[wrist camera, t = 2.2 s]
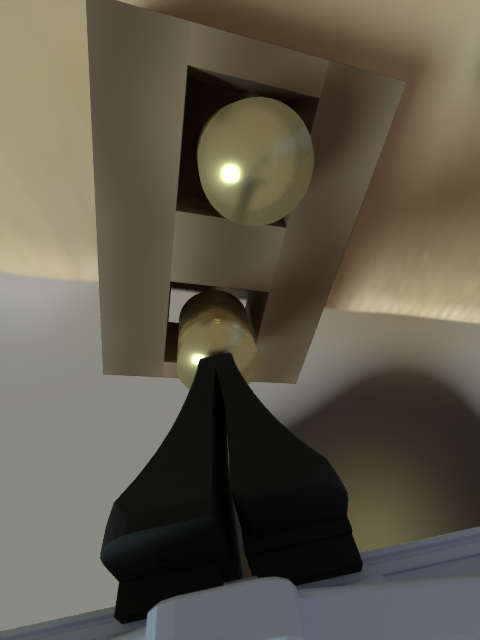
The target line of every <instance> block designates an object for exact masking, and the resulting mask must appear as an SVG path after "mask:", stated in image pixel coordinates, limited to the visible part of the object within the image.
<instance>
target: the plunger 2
mask: <svg viewBox="0 0 480 640" xmlns="http://www.w3.org/2000/svg"><path fill="white" fill-rule="evenodd" d="M225 353H231V354H232V355H233V359H234V361H235V364H236V366H237V368H238V369H239V371H240V373H241V375H242V376H243V378H244V380H245V381H246V383H247V384H249V383H250V382H251V381H252V380H253V379H254V377H255V376H256V374H257V371H258V368H259V356H258V353H257V349H256V346H255V342H254V339H253V335H252V332H251V328H250V325H249V321H248V318H247V314H246V311H245V308H244V306H243V304H242V303H241V302H240V301H239V300H238V299H237V298H236V297H235V296H233V295H231V294H229V293H227V292H224V291H217V290H211V291H205V292H201V293H199V294H197V295H195V296H193V297H192V298H190V299H189V300H188V301H187V302H186V303H185V305H184V306H183V308H182V310H181V312H180V317H179V334H178V352H177V373H178V376H179V378H180V380H181V381H182V383H183V384H184V385H185V386H186V387H187V388H189V389H190V388H191V385H192V383H193V380H194V377H195V374H196V370H197V367H198V362H199V360H200V359H201V358H205V357H210V356H215V355H220V354H225Z"/></svg>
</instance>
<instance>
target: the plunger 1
mask: <svg viewBox="0 0 480 640" xmlns="http://www.w3.org/2000/svg"><path fill="white" fill-rule="evenodd" d="M197 163H198V170H199V176H200V181H201V184H202V187H203V190H204V192H205V195H206V197H207V198H208V200H209V202H210V203H211V205H212V206H213V207H214V208H215V209H216V210H217V211H218V212H219V213H220V214H221V215H222V216H224V217H225V218H227V219H228V220H230V221H232V222H235V223H237V224H240V225H245V226H262V225H267V224H270V223H273V222H276V221H278V220H280V219H281V218H283V217H285V216H286V215H287V214H289V213H290V212H291V211H292V210H293V209H294V208H295V207H296V206H297V205H298V203H299V202H300V201H301V199H302V198H303V196H304V195H305V193H306V191H307V189H308V186H309V184H310V181H311V177H312V173H313V166H314V152H313V145H312V141H311V137H310V134H309V132H308V129H307V128H306V126H305V124H304V122H303V121H302V119H301V118H300V117H299V115H298V114H297V113H296V112H295V111H294V110H293V109H291V108H290V107H288V106H287V105H286V104H284V103H282V102H280V101H278V100H275V99H272V98H266V97H251V98H246V99H243V100H240V101H237V102H234V103H231V104H229V105H226V106H224V107H222V108H220V109H218V110H217V111H216V112H214V113H213V114H212V115H211V116H210V117H209V119H208V120H207V121H206V123H205V124H204V126H203V128H202V130H201V132H200V135H199V138H198V143H197Z"/></svg>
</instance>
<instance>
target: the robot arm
mask: <svg viewBox="0 0 480 640" xmlns="http://www.w3.org/2000/svg"><path fill="white" fill-rule="evenodd" d="M227 437H228V444H227ZM228 451H229V466H228ZM229 468H230V476H229ZM232 497H233V499H232ZM233 501H234V504H235V508H236V511H237V515H238V518H239V522H240V525H241V529H242V537H243V545H244V552H245V556H246V557H247V560H248V564H249V566H250V570H251V573H252V577H247V578H243V572H242V564H241V557H240V551H239V543H238V536H237V530H236V522H235V514H234V507H233ZM347 509H348V493H347V491H346V489H345V486H344V485H343V483H342V481H341V480H340V478H339V476H338V474H337V473H336V471H335V470H334V468H333V467H332V466H331V464H330V463H329V462H328V460H327V459H326V458H325V457H323V456H322V455H321V454H319V453H317V452H316V451H315V450H313V449H312V448H311V447H309V446H308V445H306V444H305V443H304V442H303V441H301V440H300V439H299V438H298V437H296V436H295V435H294V434H293V433H292V432H291V431H289V430H288V429H287V428H286V427H285V426H284V425H283V424H281V423H280V422H279V421H278V420H277V419H276V418H275V417H274V416H273V415H272V414H271V413H270V412H269V410H268V409H266V407H265V406H264V405H263V404H262V403H261V401H260V400H259V399H258V398H257V396H256V395H255V394H254V392H253V391H252V390H251V388H250V387H249V386H248V384H247V383H246V381H245V380H244V378H243V376H242V375H241V373H240V371H239V369H238V368H237V366H236V364H235V361H234V359H233V355H232V354H231V353H225V354H220V355H215V356H210V357H205V358H201V359H200V360H199V362H198V367H197V370H196V374H195V377H194V380H193V383H192V385H191V388H190V391H189V393H188V396H187V398H186V400H185V403H184V405H183V407H182V409H181V411H180V413H179V415H178V417H177V419H176V421H175V423H174V425H173V426H172V428H171V430H170V432H169V433H168V435H167V436H166V438H165V439H164V441H163V442H162V444H161V446H160V447H159V449H158V450H157V452H156V453H155V454H154V456H153V457H152V458H151V460H150V461H149V462H148V464H147V465H146V466H145V468H144V469H143V470H142V472H141V473H140V474H139V475H138V476H137V477H136V479H135V480H134V481H133V482H132V483H131V484H130V486H129V487H128V488H127V489H126V490H125V491H124V492H123V493H122V494H121V496H120V497H119V498H118V499H117V500H116V501H115V502H114V504H113V507H112V510H111V513H110V516H109V519H108V522H107V525H106V530H105V534H104V539H103V544H102V549H101V557H100V559H101V561H102V563H103V565H104V566H105V567H106V568H107V569H108V570H109V571H110V572H111V574H113V576H114V577H115V578H116V579H117V580H118V581H119V588H118V594H117V600H116V606H115V607H110V608H106V609H102V610H96V611H92V612H87V613H83V614H78V615H74V616H69V617H64V618H60V619H55V620H51V621H46V622H42V623H37V624H33V625H28V626H23V627H19V628H14V629H9V630H5V631H0V640H480V527H476V528H472V529H467V530H463V531H458V532H453V533H449V534H444V535H440V536H435V537H430V538H426V539H421V540H417V541H412V542H407V543H403V544H399V545H394V546H389V547H385V548H380V549H375V550H371V551H366V552H362V553H359V551H358V549H357V546H356V544H355V541H354V539H353V536H352V528H351V525H350V522H349V520H348V517H347Z"/></svg>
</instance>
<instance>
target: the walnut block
mask: <svg viewBox="0 0 480 640" xmlns="http://www.w3.org/2000/svg"><path fill="white" fill-rule="evenodd" d="M86 11H87V33H88V54H89V76H90V98H91V119H92V141H93V163H94V184H95V206H96V227H97V249H98V271H99V292H100V311H101V312H100V314H101V333H102V334H101V335H102V357H103V374H105V375H106V374H107V375H126V376H147V377H167V378H179V376H178V373H177V352H178V334H179V323H173V322H168V318H169V305H170V294H171V282H181V283H190V284H199V285H208V286H217V287H226V288H235V289H244V290H249V294H248V298H247V303H246V307H245V311H246V314H247V318H248V321H249V325H250V328H251V332H252V335H253V339H254V342H255V346H256V349H257V353H258V356H259V368H258V371H257V374H256V376H255V377H254V379H253V380H252V381H251V382H270V383H290V384H296V382H297V379H298V376H299V374H300V371H301V368H302V366H303V363H304V360H305V358H306V355H307V352H308V349H309V347H310V344H311V341H312V339H313V336H314V333H315V330H316V328H317V325H318V322H319V320H320V317H321V314H322V311H323V309H324V306H325V303H326V300H327V298H328V295H329V292H330V290H331V287H332V284H333V281H334V279H335V276H336V273H337V271H338V268H339V265H340V262H341V260H342V257H343V254H344V252H345V249H346V246H347V243H348V241H349V238H350V235H351V232H352V230H353V227H354V224H355V222H356V219H357V216H358V213H359V211H360V208H361V205H362V203H363V200H364V197H365V194H366V192H367V189H368V186H369V184H370V181H371V178H372V175H373V173H374V170H375V167H376V164H377V162H378V159H379V156H380V154H381V151H382V148H383V145H384V143H385V140H386V137H387V135H388V132H389V129H390V126H391V124H392V121H393V118H394V115H395V113H396V110H397V107H398V105H399V102H400V99H401V96H402V94H403V91H404V88H405V86H406V83H407V82H405V81H402V80H398V79H394V78H391V77H387V76H384V75H380V74H377V73H373V72H369V71H366V70H362V69H359V68H355V67H352V66H348V65H344V64H341V63H337V62H334V61H330V60H327V59H323V58H320V57H316V56H312V55H309V54H305V53H302V52H298V51H295V50H291V49H287V48H284V47H280V46H277V45H273V44H270V43H266V42H262V41H259V40H255V39H252V38H248V37H245V36H241V35H237V34H234V33H230V32H227V31H223V30H220V29H216V28H212V27H209V26H205V25H202V24H198V23H195V22H191V21H187V20H184V19H180V18H177V17H173V16H170V15H166V14H162V13H159V12H155V11H152V10H148V9H145V8H141V7H138V6H134V5H130V4H127V3H123V2H120V1H116V0H86ZM188 78H191V79H196V80H200V81H204V82H208V83H212V84H216V85H220V86H224V87H228V88H233V89H237V90H241V91H245V92H249V93H253V94H257V95H261V96H265V97H270V98H274V99H278V100H282V101H286V102H290V103H291V105H290V108H291V109H293V110H294V111H295V112H296V113H297V114H298V115H299V117H300V118H301V119H302V121H303V122H304V124H305V126H306V128H307V129H308V132H309V134H310V137H311V141H312V145H313V152H314V166H313V173H312V177H311V181H310V184H309V186H308V189H307V191H306V193H305V195H304V196H303V198H302V199H301V201H300V202H299V203H298V205H297V206H296V207H295V208H294V209H293V210H292V211H291V212H290V213H289V214H287V215H286V216H285V217H283V218H281V219H280V220H278V221H276V222H273V223H270V224H267V225H262V226H245V225H240V224H237V223H235V222H232V221H230V220H228V219H227V218H225V217H224V216H222V215H221V214H220V213H219V212H218V211H217V210H216V209H215V208H214V207H213V206H212V205H211V203H210V202H209V200H208V198H207V197H206V196H200V195H194V194H188V193H182V192H179V184H180V172H181V159H182V147H183V135H184V123H185V110H186V98H187V86H188Z"/></svg>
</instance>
